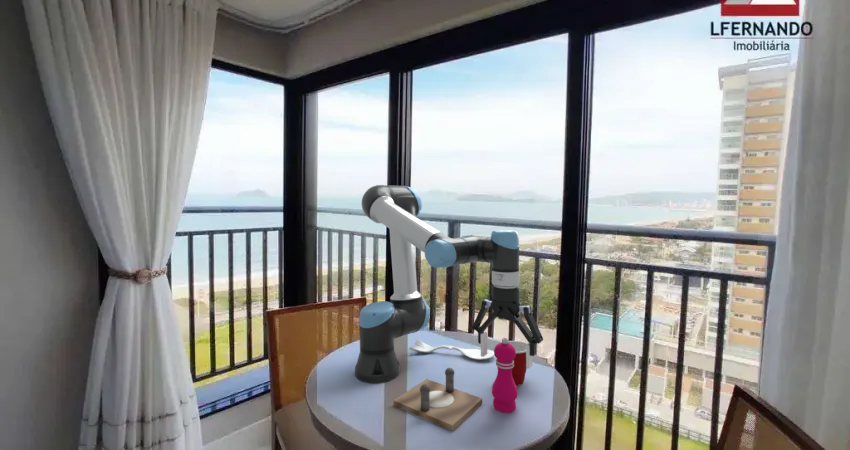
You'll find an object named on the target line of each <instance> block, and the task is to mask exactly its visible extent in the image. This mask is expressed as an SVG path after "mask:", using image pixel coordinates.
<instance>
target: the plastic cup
mask: <svg viewBox="0 0 850 450" xmlns="http://www.w3.org/2000/svg"><path fill="white" fill-rule="evenodd" d="M508 343H509V344H511V345H513V347H514V348H515V351H516V356H515V358H514V359H513V361H514V367H513V368H512V377H513V380H514V382H515V384H516V386H521V385H523V384H524V381H525V378H526V377H525V376H526V373H527V369H528V368H526V344H527V343H528V342H525V341H522V340H521V341H519V340H508Z"/></svg>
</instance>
